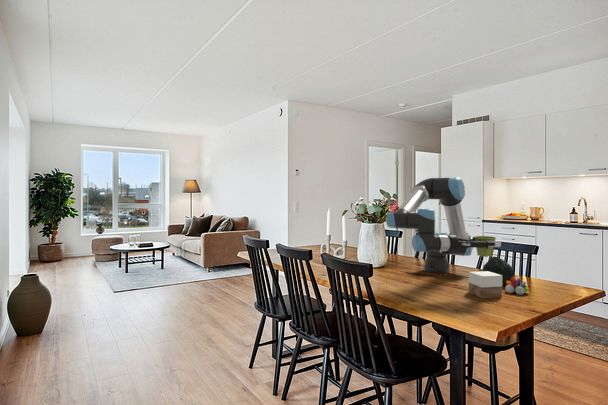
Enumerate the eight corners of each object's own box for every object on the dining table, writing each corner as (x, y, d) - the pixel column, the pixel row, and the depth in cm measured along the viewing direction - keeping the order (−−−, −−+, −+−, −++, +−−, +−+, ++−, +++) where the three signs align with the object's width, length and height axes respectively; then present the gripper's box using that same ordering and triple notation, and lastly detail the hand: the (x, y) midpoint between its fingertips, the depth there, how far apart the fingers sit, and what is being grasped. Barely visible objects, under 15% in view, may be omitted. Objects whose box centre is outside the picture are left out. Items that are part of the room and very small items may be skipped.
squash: (515, 271, 202) (495, 249, 204) (523, 278, 187) (501, 254, 189) (493, 287, 205) (473, 266, 207) (499, 295, 191) (477, 272, 193)
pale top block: (468, 282, 179) (468, 271, 179) (487, 281, 181) (487, 271, 181) (482, 287, 169) (482, 276, 169) (502, 286, 171) (502, 275, 171)
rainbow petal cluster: (508, 289, 185) (508, 274, 185) (530, 293, 178) (531, 277, 178) (502, 292, 179) (502, 277, 179) (525, 296, 172) (525, 280, 172)
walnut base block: (468, 292, 179) (468, 282, 179) (488, 292, 180) (488, 281, 180) (480, 298, 169) (480, 287, 169) (501, 297, 171) (501, 286, 170)
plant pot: (494, 258, 168) (495, 238, 168) (471, 256, 173) (472, 237, 173) (497, 255, 176) (497, 236, 176) (475, 253, 181) (475, 235, 181)
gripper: (437, 248, 184) (482, 247, 185) (457, 254, 162) (508, 254, 164) (437, 232, 183) (482, 232, 185) (458, 237, 162) (508, 236, 164)
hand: (494, 242), depth 175 cm, fingers closed on plant pot, 8 cm apart
